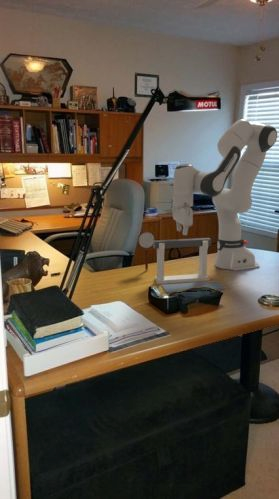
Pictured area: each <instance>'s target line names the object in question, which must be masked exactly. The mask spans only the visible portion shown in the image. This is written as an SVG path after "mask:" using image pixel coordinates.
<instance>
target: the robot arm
mask: <svg viewBox="0 0 279 499" xmlns="http://www.w3.org/2000/svg"><path fill="white" fill-rule="evenodd" d="M277 139H278V131H277V129H276V127H274V126H273V125H270V124H268V125H267V124H264V123H260V122H254V121H253V122H251V121H249V120H247V119H243V118H242V119H238V120H237V121H235V122H234V123H233V124H231V126H230V127H229V128H227V130H226V131H225V132H224V133H223V134H222V136H221V137H220V139H219V140H218V141H217V147H216V148H217V150H218V153H219V155H221V157H222V160H221V161H220V163H219V164H218V166H217V167H216V169H215V170H212V171H209V172H206V171H201V170H199V169H197V168H196V167H194V165H193V164H191V163H184V164H183V163H182V164H179V165H177V166H176V167H174V170H173V171H174V172H173V178H172V180H173V181H172V183H173V184H172V187H173V192H172V199H170V203H171V205H172V206H171V207H172V208H171V211H172V213H171V215H172V219H173V220H174V221H175V223H176V224H175V225H176V231H177V232H181V231H182V235H183V236H188V232H189V228H190V227H192V226H193V224H194V218H193V216H194V215H193V214H194V211H193V209H192V208H191V207H193V206H194V194H198V195H205V196H208V197H212V203H213V205H214V207H215V210H216V215H217V220H218V238H217V242H216V243H217V247H216V248H217V254H216V259H215V263H214V265H213V266H214V267H216V268H218V269H223V270H224V269H225V270H230V271H234V272H235V271H245V270H251V269H257V268H260V263H259V262H258V261H256V256H255V254H254V253H253V252H252V251H251V250H250V249H249V248H247V247H246V246H247V245H248V244H249V241H248V240H246V239H242V221H241V220H240V218H239V214H244V213H248V211H249V210H250V209H251V208H252V205H253V199H252V196H251V194H252V189H253V186H254V182H255V181H256V178H257V176H258V174H259V173H260V170H261V168H262V167H263V163H265V162H264V161H265V158H266V156H267V155H266V154H267V152H268V151H269V150H270V149H271V148H273V146H274V145H275V144H276V142H277ZM245 147H246V149H245V150H244V152H243V154H241V152H242V151H243V149H244V148H245ZM230 175H232V176H231V177H232V183H231V184H232V186H231V187H230V188H225V186H226V182H227V180H228V178H229V177H230ZM182 228H183V229H182ZM245 245H246V246H245Z"/></svg>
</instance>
